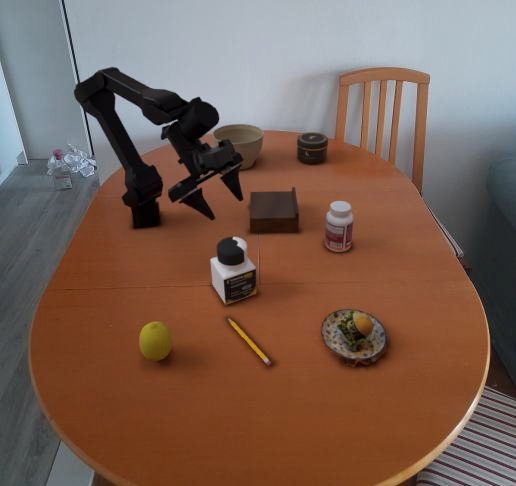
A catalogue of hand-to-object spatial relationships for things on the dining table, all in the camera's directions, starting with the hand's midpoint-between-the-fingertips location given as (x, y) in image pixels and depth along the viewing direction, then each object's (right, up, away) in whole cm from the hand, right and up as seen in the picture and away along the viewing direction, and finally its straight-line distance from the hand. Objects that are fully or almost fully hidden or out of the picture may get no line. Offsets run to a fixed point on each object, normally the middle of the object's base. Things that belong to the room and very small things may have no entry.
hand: (228, 209), depth 95 cm
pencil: (+4, -24, -13) cm, 27 cm away
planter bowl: (0, +12, +51) cm, 52 cm away
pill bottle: (+25, -9, +12) cm, 29 cm away
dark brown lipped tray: (+10, -4, +22) cm, 25 cm away
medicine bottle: (+1, -17, -1) cm, 17 cm away
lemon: (-11, -25, -16) cm, 32 cm away
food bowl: (+24, -23, -13) cm, 36 cm away
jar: (+24, +14, +53) cm, 60 cm away
